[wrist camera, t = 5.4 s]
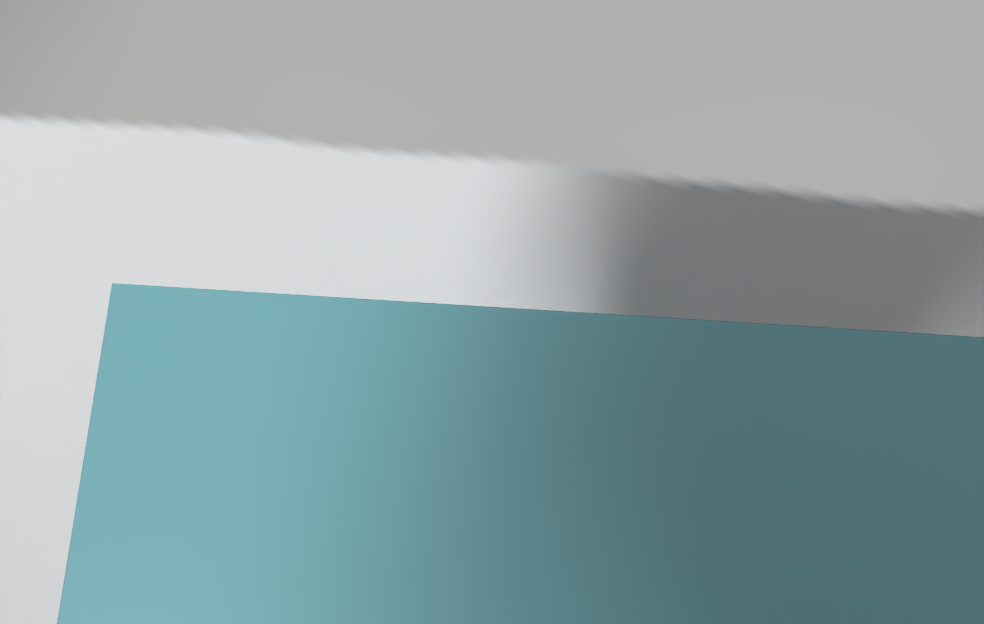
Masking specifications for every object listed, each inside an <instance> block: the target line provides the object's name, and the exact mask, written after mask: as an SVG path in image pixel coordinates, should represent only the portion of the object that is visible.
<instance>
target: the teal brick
mask: <svg viewBox="0 0 984 624" xmlns="http://www.w3.org/2000/svg"><path fill="white" fill-rule="evenodd" d="M57 624H984V337H967V336H951V335H935V334H919V333H903V332H887V331H871V330H855V329H839V328H822V327H806V326H790V325H774V324H758V323H742V322H726V321H710V320H694V319H678V318H661V317H645V316H629V315H613V314H597V313H581V312H565V311H549V310H533V309H516V308H500V307H484V306H468V305H452V304H436V303H420V302H404V301H388V300H371V299H355V298H339V297H323V296H307V295H291V294H275V293H259V292H243V291H226V290H210V289H194V288H178V287H162V286H146V285H130V284H114V283H112V288H111V295H110V301H109V307H108V313H107V319H106V325H105V332H104V338H103V344H102V350H101V356H100V362H99V369H98V375H97V381H96V387H95V393H94V399H93V406H92V412H91V418H90V424H89V430H88V436H87V442H86V449H85V455H84V461H83V467H82V473H81V479H80V486H79V492H78V498H77V504H76V510H75V516H74V523H73V529H72V535H71V541H70V547H69V553H68V560H67V566H66V572H65V578H64V584H63V590H62V597H61V603H60V609H59V615H58V621H57Z"/></svg>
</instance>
